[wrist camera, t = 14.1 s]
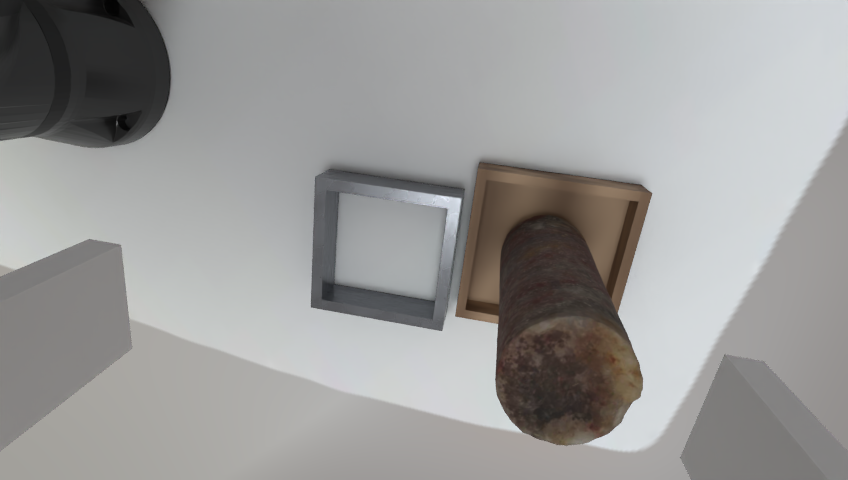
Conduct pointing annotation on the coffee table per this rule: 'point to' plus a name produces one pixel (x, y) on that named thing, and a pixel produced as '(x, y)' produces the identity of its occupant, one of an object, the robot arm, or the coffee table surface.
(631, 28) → the coffee table surface
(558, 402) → the rusty brown cylinder
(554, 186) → the tray
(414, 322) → the collar
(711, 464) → the robot arm
